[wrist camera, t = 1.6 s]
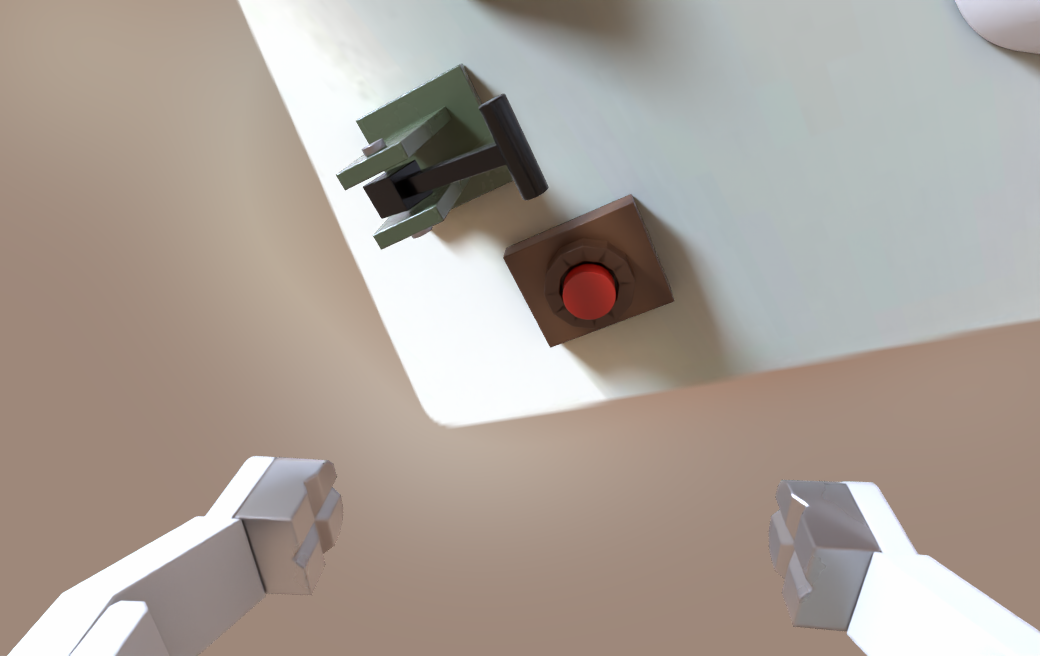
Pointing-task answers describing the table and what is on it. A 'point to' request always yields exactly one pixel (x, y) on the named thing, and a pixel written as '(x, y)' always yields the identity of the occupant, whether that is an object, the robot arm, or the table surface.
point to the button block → (589, 240)
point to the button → (589, 291)
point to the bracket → (426, 149)
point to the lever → (463, 165)
